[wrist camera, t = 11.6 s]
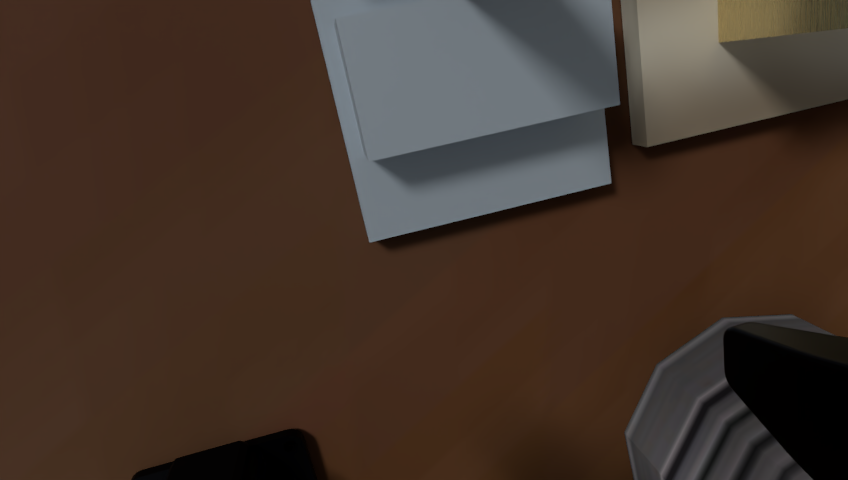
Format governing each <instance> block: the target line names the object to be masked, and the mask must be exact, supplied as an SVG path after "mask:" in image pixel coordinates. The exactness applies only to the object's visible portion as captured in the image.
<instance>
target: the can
mask: <svg viewBox="0 0 848 480" xmlns="http://www.w3.org/2000/svg"><path fill="white" fill-rule="evenodd" d="M746 322H757V323H763V324H769V325H775V326H781V327H786V328H792V329H798V330H804V331H810V332H816V333H822V334H828V335H833V334H831V333H829V332H827V331H825V330H823V329H821V328H819V327H817V326H815V325H813V324H810V323H808V322H806V321H804V320H802V319H800V318H798V317H796V316H794V315H792V314H787V315H768V316H748V317H729V318H721V319H720V320H719V321H717V322H716V323H714V324H713V325H711V326H710V327H709V328H707V329H706V330H704V331H703V332H702V333H700V334H699V335H697V336H696V337H695V338H693V339H692V340H690V341H689V342H687V343H686V344H685V345H683V346H682V347H680V348H679V349H678V350H676V351H675V352H673V353H672V354H671V355H669V356H668V357H666V358H665V359H664V360H662V361H661V362H659V363H658V364H657V365H656V367H655V369H654V371H653V373H652V375H651V377H650V379H649V382H648V384H647V386H646V388H645V390H644V392H643V394H642V396H641V398H640V401H639V403H638V405H637V407H636V409H635V411H634V413H633V415H632V417H631V419H630V422H629V424H628V426H627V428H626V430H625V432H624V433H625V438H626V443H627V448H628V453H629V458H630V463H631V468H632V473H633V478H634V480H813V479H812V478H811V477H810V476H809V475H808V474H807V473H806V472H805V471H804V470H803V469H802V468H801V467H800V466H799V465H798V464H797V463H796V462H795V461H794V460H793V458H792V457H791V456H790V455H789V454H788V453H787V452H786V451H785V450H784V449H783V447H782V446H781V445H780V444H779V443H778V442H777V440H776V439H775V438H774V437H773V436H772V435H771V433H770V432H769V431H768V430H767V429H766V428H765V427H764V425H763V424H762V423H761V422H760V421H759V420H758V418H757V417H756V416H755V415H754V414H753V413H752V412H751V410H750V409H749V408H748V407H747V406H746V405H745V403H744V402H743V401H742V400H741V399H740V398H739V397H738V395H737V394H736V393H735V392H734V391H733V390H732V388H731V387H730V385H729V384H728V382H727V380H726V377H725V372H724V347H723V335H724V332H725V330H726V329H728V328H729V327H732V326H736V325H739V324H743V323H746ZM834 336H835V335H834Z"/></svg>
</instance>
